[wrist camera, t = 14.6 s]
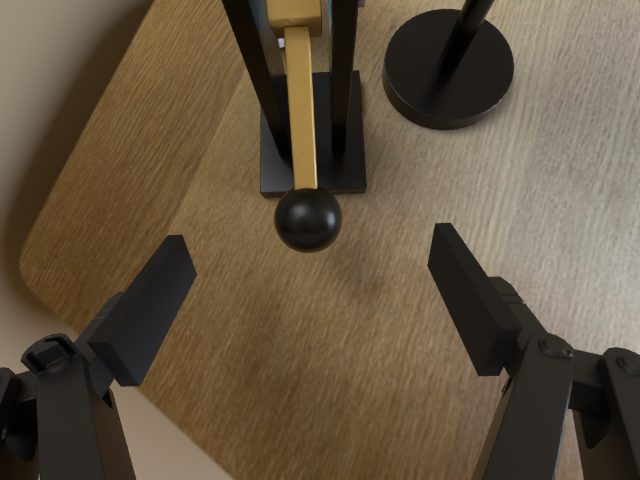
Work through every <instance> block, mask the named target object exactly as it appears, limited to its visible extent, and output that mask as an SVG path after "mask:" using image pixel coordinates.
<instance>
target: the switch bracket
mask: <svg viewBox="0 0 640 480" xmlns="http://www.w3.org/2000/svg"><path fill="white" fill-rule="evenodd" d="M222 3H223V5H224V8H225V11H226V13H227V16H228V19H229V21H230V24H231V27H232V29H233V32H234V35H235V38H236V40H237V43H238V46H239V48H240V51H241V54H242V56H243V59H244V62H245V64H246V67H247V70H248V72H249V75H250V78H251V81H252V83H253V86H254V89H255V91H256V94H257V97H258V99H259V102H260V105H261V140H260V193H261V194H262V196H263V197H264V198H266V197H282V196H283V195H284V194H285V193H286V192H288V191H289V190H291V189H292V188H294V187H295V182H294V168H293V155H292V141H291V127H290V113H289V99H288V86H287V74H285V71H284V66H283V61H282V57H281V52H280V47H279V42H278V39H277V38H276V36H275V34H274V32H273V30H272V28H271V26H270V24H269V22H268V20H267V11H266V0H222ZM365 4H366V0H329V72H319V73H312V86H313V106H314V126H315V147H316V167H317V186H320V187H322V188H324V189H326V190H327V191H329V192H330V193H331V194H332V195H335V194H358V193H365V192H366V189H367V183H366V167H365V151H364V136H363V120H362V104H361V89H360V73H359V70H354V71H352V70H353V59H354V49H355V38H356V27H357V16H358V7H365Z"/></svg>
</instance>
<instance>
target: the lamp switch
mask: <svg viewBox="0 0 640 480" xmlns="http://www.w3.org/2000/svg"><path fill="white" fill-rule="evenodd" d="M266 11H267V20H268V22H269V24H270V26H271V28H272V30H273V32H274V34H275V36H276V38H277V39H283V38H284V44H285V58H286V72H287V86H288V99H289V113H290V127H291V141H292V155H293V168H294V182H295V187H294V188H292V189H291V190H289V191H288V192H286V193H285V194H284V195H283V196H282V197H281V199H280V200H279V202H278V204H277V206H276V209H275V213H274V224H275V229H276V232H277V234H278V236H279V237H280V239H281V240H282V241H283V242H284V243H285V244H286V245H287V246H288V247H289V248H291V249H293V250H295V251H298V252H302V253H315V252H319V251H321V250H324V249H326V248H327V247H329V246H330V245H331V244H332V243H333V242H334V241H335V240H336V238H337V237H338V235H339V233H340V230H341V227H342V211H341V208H340V205H339V203H338V201H337V200H336V198H335V197H334V196H333V195H332V194H331V193H330V192H329V191H327V190H326V189H324V188H322V187H320V186H317V167H316V147H315V126H314V106H313V86H312V65H311V45H310V37H316V36H322V15H321V0H266Z"/></svg>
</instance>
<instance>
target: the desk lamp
mask: <svg viewBox="0 0 640 480" xmlns="http://www.w3.org/2000/svg"><path fill="white" fill-rule="evenodd" d="M494 1H495V0H466V1H465V3H464V5H463V7H462V10H455V9H438V10H432V11H428V12H424V13H422V14H419V15H417V16H415V17H413V18H411V19H410V20H408V21H407V22H405V23H404V24H403V25H402V26H401V27H400V28H399V29H398V30H397V31H396V32H395V34H394V35H393V37H392V38H391V40H390V42H389V44H388V47H387V50H386V54H385V58H384V63H383V69H382V80H383V86H384V89H385V92H386V94H387V97H388V99H389V100H390V102H391V103H392V105H393V106H394V107H395V108H396V110H397V111H398V112H400V113H401V114H402V115H403V116H404V117H406V118H407V119H409V120H410V121H412V122H414V123H416V124H418V125H421V126H423V127H427V128H431V129H437V130H453V129H460V128H464V127H467V126H470V125H472V124H474V123H476V122H478V121H480V120H481V119H483V118H484V117H486V116H487V115H488V114H489V113H490V112H491V111H492V110H493V109H494V108H495V106H496V105H497V104H498V103H499V102H500V101H501V99H502V98H503V97H504V96H505V94H506V93H507V91H508V89H509V87H510V85H511V82H512V78H513V73H514V61H513V55H512V51H511V49H510V47H509V44H508V43H507V41H506V39H505V38H504V36H503V35H502V34H501V32H500V31H499V30H498V29H497V28H496V27H495V26H493V25H492V24H491V23H490V22H488V21H487V20H485V17H486V15H487V13H488V12H489V10H490V8H491V6H492V4H493V2H494Z"/></svg>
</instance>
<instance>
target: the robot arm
mask: <svg viewBox="0 0 640 480" xmlns="http://www.w3.org/2000/svg"><path fill="white" fill-rule="evenodd" d="M427 266H428V268H429V270H430V272H431V274H432V276H433V279H434V281H435V283H436V285H437V287H438V289H439V292H440V294H441V296H442V298H443V300H444V302H445V305H446V307H447V309H448V311H449V313H450V315H451V318H452V320H453V322H454V324H455V326H456V328H457V330H458V333H459V335H460V337H461V339H462V341H463V343H464V346H465V348H466V350H467V352H468V354H469V356H470V359H471V361H472V363H473V365H474V367H475V369H476V372H477V374H478V376H499V375H500V373H501V371H502V369H503V367H505V369H506V371H507V373H508V375H509V378H508V380H507V382H506V384H505V385H504V387H503V389H502V391H501V392H502V396H501V399H500V402H499V404H498V407H497V410H496V413H495V416H494V418H493V421H492V424H491V427H490V429H489V432H488V435H487V438H486V441H485V443H484V446H483V449H482V452H481V454H480V457H479V460H478V463H477V466H476V468H475V471H474V474H473V477H472V479H471V480H555V476H556V471H557V465H558V460H559V454H560V448H561V443H562V437H563V432H564V426H565V421H566V415H567V410H568V409H572V412H573V418H574V424H575V429H576V435H577V441H578V447H579V453H580V459H581V465H582V470H583V476H584V480H640V355H639V354H637V353H635V352H632V351H630V350H627V349H623V348H617V347H615V348H609V349H608V350H606V351H605V352H604V354H603V355H598V354H593V353H589V352H584V351H579V350H576V349H573V348H572V346H571V345H570V344H568V343H567V342H566V341H565V340H564V339H562V338H560V337H558V336H556V335H553V334H550V333H548V332H547V331H546V330H545V329H544V327H543V326H542V325H541V323H540V322H539V321H538V320H537V318H536V317H535V316H534V314H533V313H532V312H531V310H530V309H529V308H528V306H527V305H526V304H524V301H523V300H522V298H521V297H520V296H518V293H517V292H516V291H515V289H514V288H513V287H512V285H511V284H509V283H508V282H507V281H505V280H504V279H503V278H501V277H488V276H487V275H486V273H485V272H484V270H483V269H482V268H481V266H480V265H479V263H478V262H477V260H476V259H475V257H474V256H473V255H472V253H471V252H470V250H469V249H468V247H467V246H466V244H465V243H464V241H463V240H462V239H461V237H460V236H459V234H458V233H457V231H456V230H455V228H454V227H453V226H452V224H451V223H435V228H434V233H433V239H432V244H431V249H430V254H429V260H428V265H427ZM196 276H197V273H196V271H195V268H194V265H193V263H192V260H191V257H190V254H189V252H188V249H187V246H186V244H185V241H184V238H183V236H182V235H168V236H167V237H166V238H165V240H164V241H163V242H162V244H161V245H160V246H159V248H158V249H157V250H156V252H155V253H154V254H153V256H152V257H151V258H150V259H149V261H148V262H147V263H146V265H145V266H144V267H143V269H142V270H141V271H140V273H139V274H138V275H137V277H136V278H135V279H134V281H133V282H132V283H131V285H130V286H129V287H128V289H127V290H126V291H125V292H118V293H117V294H116V295H114V296H113V297H112V298H110V299H109V300H108V301H107V302H106V303H105V305H104V306H103V307H102V308H101V310H100V312H98V313H97V315H96V316H95V317H94V320H92V321H91V322H90V323H89V325H88V326H87V327H86V328H85V330H84V331H83V332H82V333H81V335H80V336H79V337H78V338H77V340H76V341H75V342H74V343H73V342H72V341H71V340H70V339H69V337H68V336H67V335H65V334H62V333H59V334H52V335H49V336H47V337H44V338H43V339H41V340H39V341H37V342H35V343H34V344H33V345H32V346H30V347H29V348H28V349H27V350H26V351H25V353H24V354H23V355H22V358H21V362H22V363H23V364H24V365H25V366H26V367H27V368H28V369H29V370H30V371H26V372H23V373H20V374H15V373H13V372H12V371H11V370H10V369H9V368H4V367H2V368H0V480H38V478H39V473H40V480H136V477H135V473H134V470H133V466H132V462H131V458H130V455H129V451H128V447H127V444H126V440H125V436H124V432H123V429H122V425H121V422H120V418H119V414H118V410H117V406H116V403H115V399H114V395H113V392H112V390H111V389H110V388H109V386H110V385H111V383H112V381H113V380H114V378H115V380H116V381H117V382H118V383H119V385H120V386H121V387H125V386H140V385H141V383H142V381H143V379H144V377H145V375H146V373H147V371H148V370H149V368H150V366H151V364H152V362H153V360H154V358H155V356H156V354H157V352H158V350H159V348H160V346H161V344H162V342H163V340H164V338H165V336H166V334H167V332H168V330H169V329H170V327H171V325H172V323H173V321H174V319H175V317H176V315H177V313H178V311H179V309H180V307H181V305H182V303H183V301H184V299H185V297H186V295H187V293H188V291H189V289H190V288H191V286H192V284H193V282H194V280H195V278H196Z"/></svg>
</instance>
